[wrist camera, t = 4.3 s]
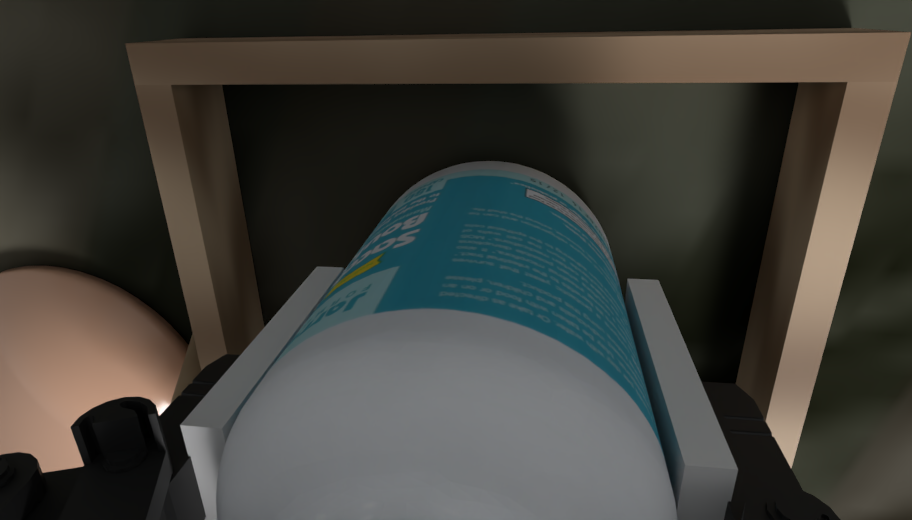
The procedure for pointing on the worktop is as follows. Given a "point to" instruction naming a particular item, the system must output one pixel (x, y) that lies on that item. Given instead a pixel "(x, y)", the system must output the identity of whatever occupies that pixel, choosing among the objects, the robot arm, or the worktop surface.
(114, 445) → the robot arm
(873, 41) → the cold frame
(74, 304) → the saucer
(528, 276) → the pill bottle
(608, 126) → the worktop surface
